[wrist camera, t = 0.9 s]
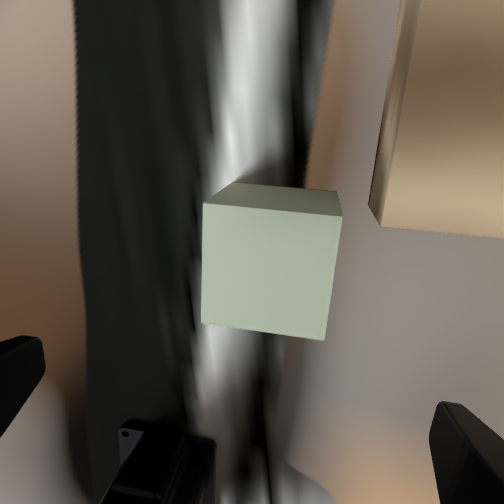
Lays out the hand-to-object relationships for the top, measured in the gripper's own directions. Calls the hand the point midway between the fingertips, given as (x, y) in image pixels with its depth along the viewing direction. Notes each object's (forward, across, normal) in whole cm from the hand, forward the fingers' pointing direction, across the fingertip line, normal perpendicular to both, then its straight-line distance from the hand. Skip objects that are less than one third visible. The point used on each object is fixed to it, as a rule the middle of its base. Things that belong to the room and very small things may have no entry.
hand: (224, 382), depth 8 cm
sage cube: (+11, 0, 0) cm, 11 cm away
